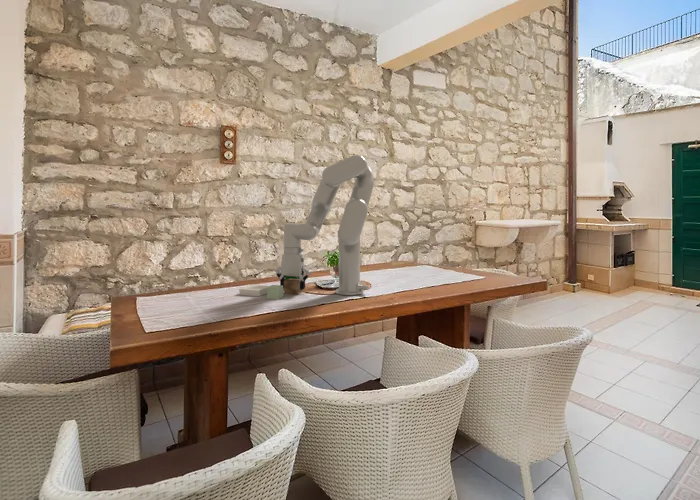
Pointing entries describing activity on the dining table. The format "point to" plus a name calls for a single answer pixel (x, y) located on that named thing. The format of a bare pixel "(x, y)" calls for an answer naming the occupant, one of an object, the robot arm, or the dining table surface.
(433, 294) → the dining table surface
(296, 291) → the walnut block
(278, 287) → the sage block
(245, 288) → the stone base
